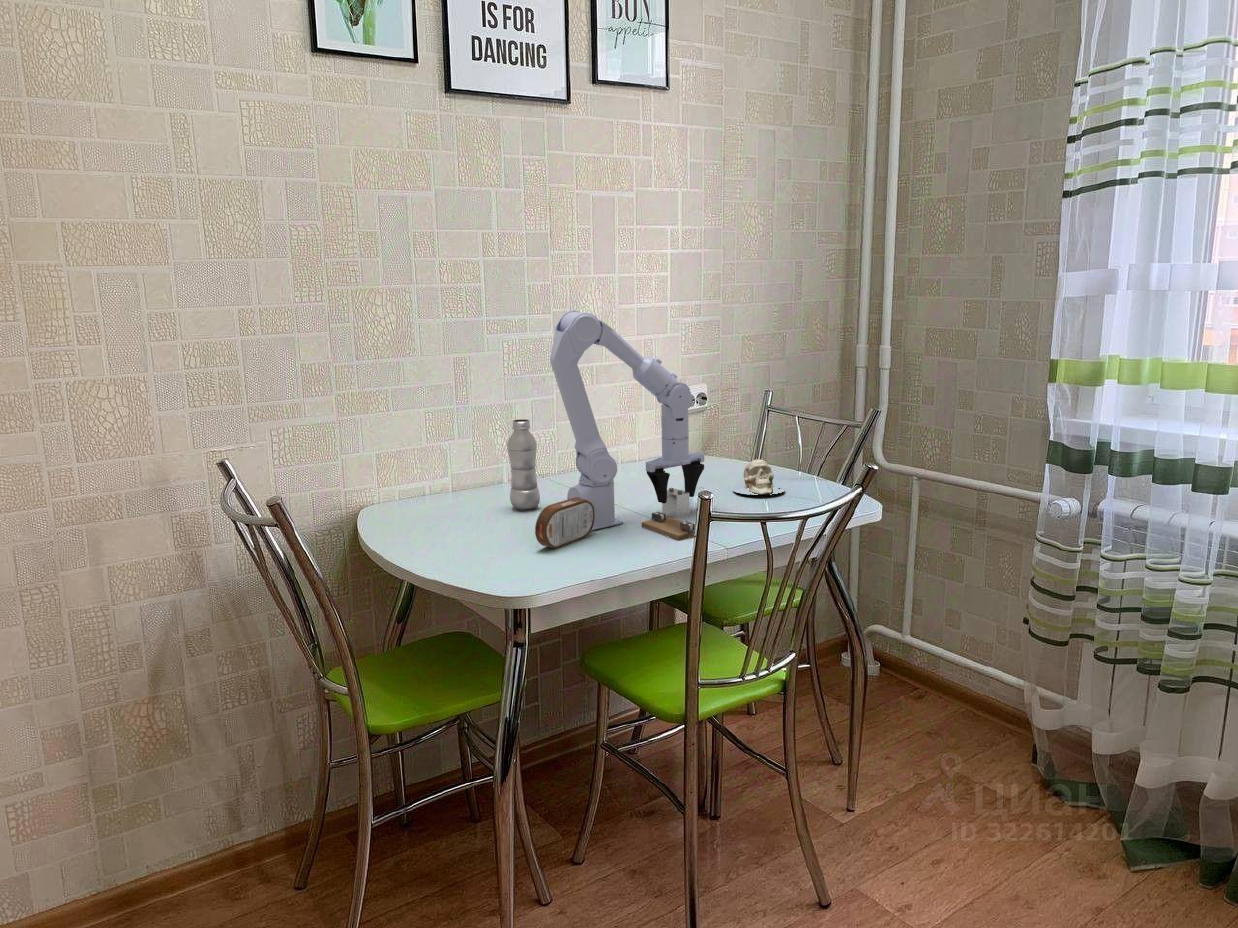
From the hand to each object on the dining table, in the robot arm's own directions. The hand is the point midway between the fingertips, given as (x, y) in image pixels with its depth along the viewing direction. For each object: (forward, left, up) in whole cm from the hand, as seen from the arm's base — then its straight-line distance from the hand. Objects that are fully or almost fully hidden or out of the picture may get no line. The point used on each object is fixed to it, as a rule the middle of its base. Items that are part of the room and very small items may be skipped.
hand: (676, 499), depth 198 cm
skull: (+26, +2, -4) cm, 27 cm away
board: (-8, -9, -3) cm, 13 cm away
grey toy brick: (0, 0, -3) cm, 3 cm away
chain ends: (-8, -9, -3) cm, 13 cm away
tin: (-29, -2, -4) cm, 29 cm away
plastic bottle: (-23, +25, -4) cm, 34 cm away
